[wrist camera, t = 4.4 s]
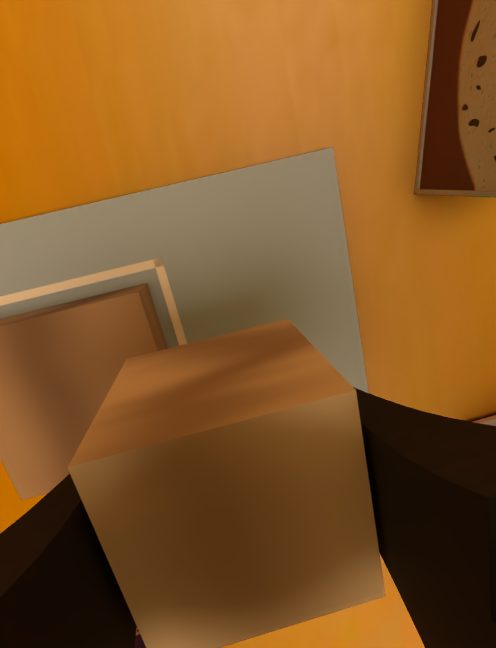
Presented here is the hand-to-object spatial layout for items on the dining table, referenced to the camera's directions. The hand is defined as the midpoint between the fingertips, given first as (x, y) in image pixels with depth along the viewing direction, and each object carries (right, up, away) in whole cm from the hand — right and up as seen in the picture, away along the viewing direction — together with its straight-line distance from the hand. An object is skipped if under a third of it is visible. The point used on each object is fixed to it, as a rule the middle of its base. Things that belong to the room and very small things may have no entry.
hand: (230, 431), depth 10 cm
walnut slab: (-7, 0, +7) cm, 10 cm away
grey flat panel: (-2, +2, +8) cm, 9 cm away
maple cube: (0, 0, +1) cm, 1 cm away
